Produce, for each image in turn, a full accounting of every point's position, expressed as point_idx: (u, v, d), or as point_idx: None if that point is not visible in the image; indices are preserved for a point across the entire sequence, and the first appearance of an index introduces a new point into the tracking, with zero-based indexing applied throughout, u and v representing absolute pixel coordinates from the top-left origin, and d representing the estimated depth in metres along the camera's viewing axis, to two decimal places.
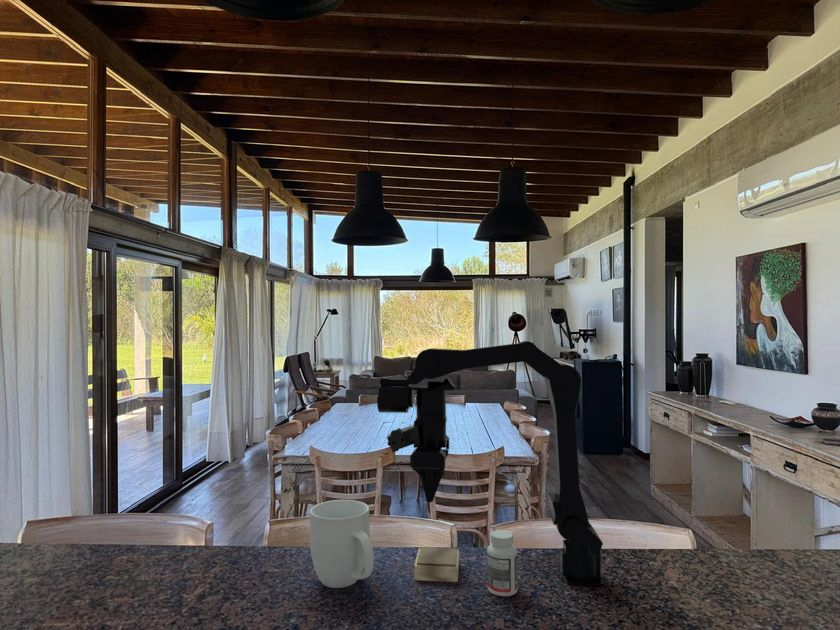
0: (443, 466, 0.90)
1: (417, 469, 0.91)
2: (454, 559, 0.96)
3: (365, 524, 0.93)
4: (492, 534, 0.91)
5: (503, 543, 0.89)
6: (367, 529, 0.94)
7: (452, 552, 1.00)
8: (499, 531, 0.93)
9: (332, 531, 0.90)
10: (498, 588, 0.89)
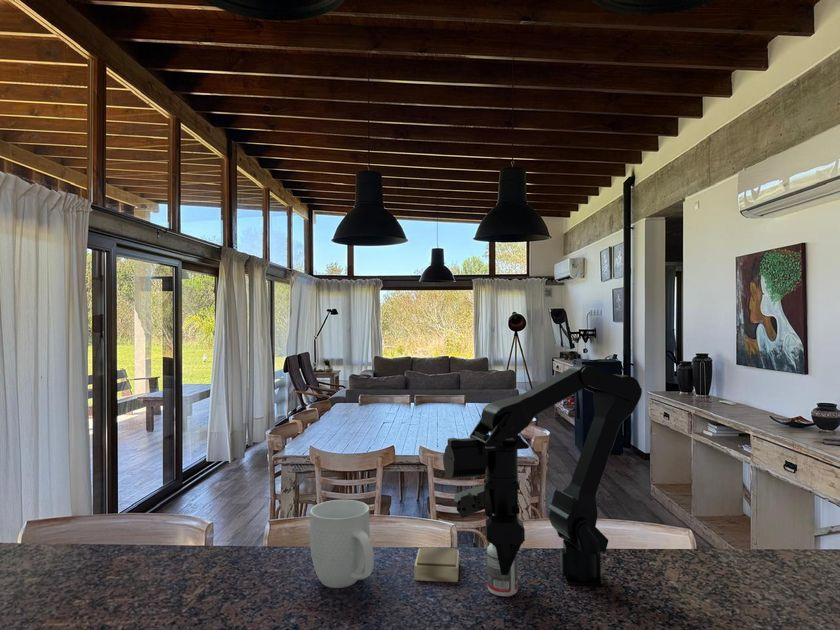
0: (523, 539, 0.82)
1: (493, 541, 0.84)
2: (454, 559, 0.96)
3: (366, 524, 0.93)
4: None
5: None
6: (367, 529, 0.94)
7: (452, 552, 1.00)
8: None
9: (332, 531, 0.90)
10: (498, 588, 0.89)
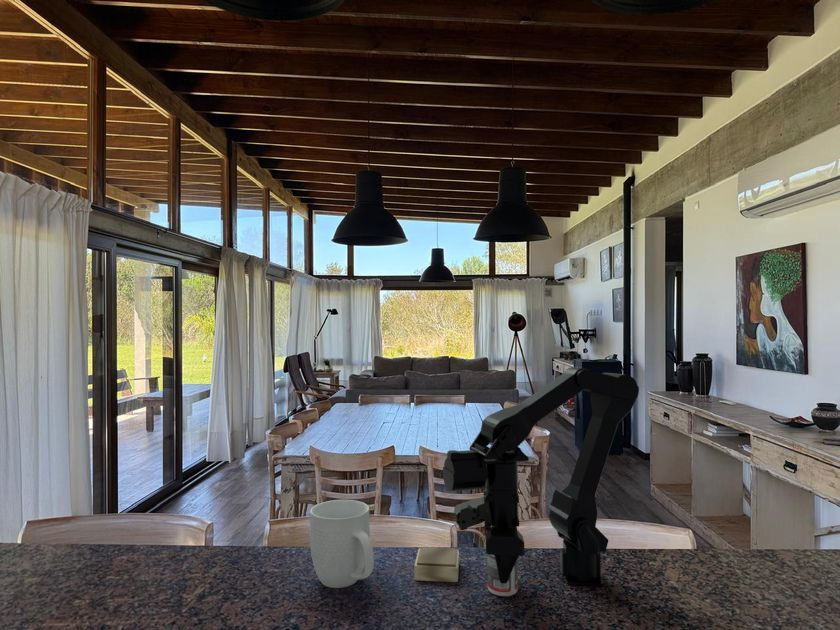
0: (523, 553, 0.82)
1: None
2: (454, 559, 0.96)
3: (365, 524, 0.93)
4: None
5: None
6: (367, 529, 0.94)
7: (452, 552, 1.00)
8: None
9: (332, 531, 0.90)
10: (498, 587, 0.89)
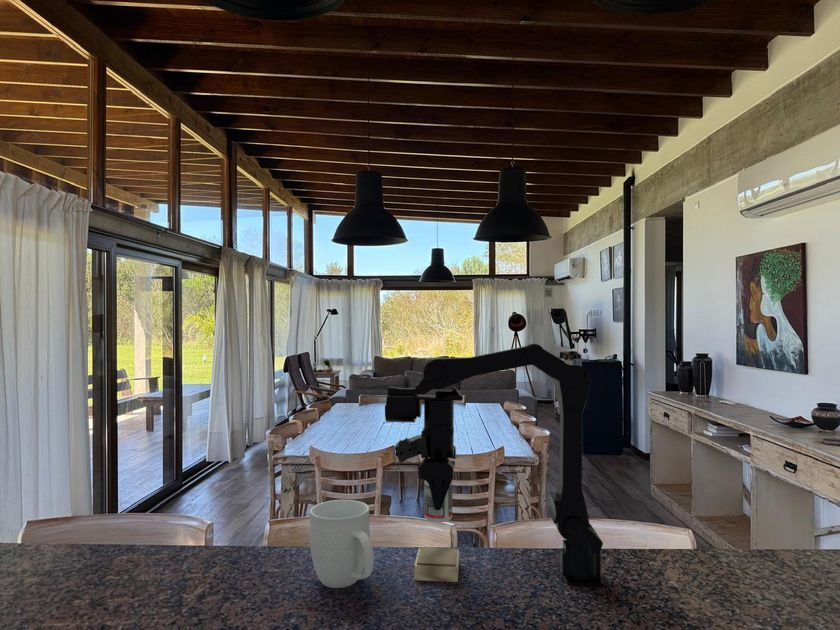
0: (451, 477, 0.89)
1: None
2: (454, 559, 0.96)
3: (366, 524, 0.93)
4: None
5: None
6: (367, 529, 0.94)
7: (452, 552, 1.00)
8: None
9: (332, 531, 0.90)
10: (433, 514, 0.96)
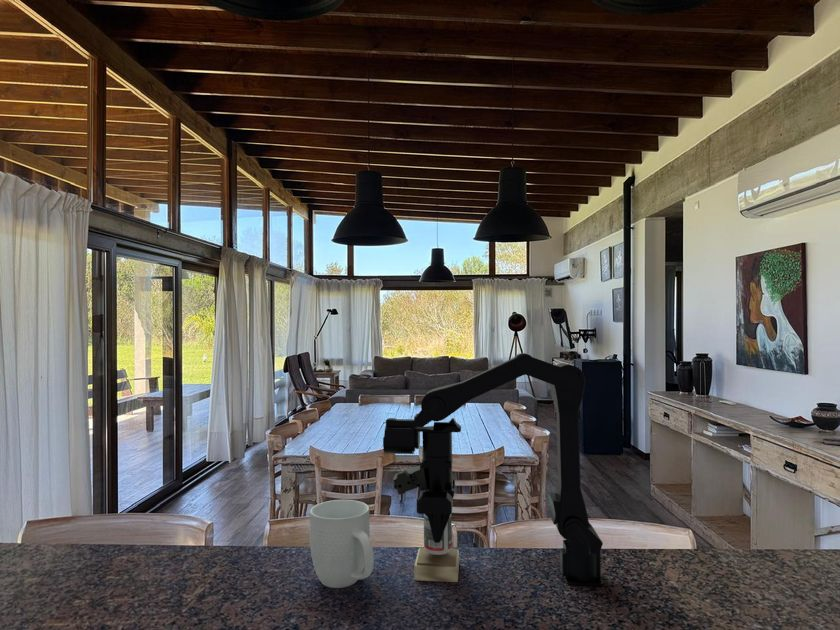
0: (450, 512, 0.89)
1: None
2: (454, 559, 0.96)
3: (365, 524, 0.93)
4: None
5: None
6: (367, 529, 0.94)
7: (452, 552, 1.00)
8: None
9: (332, 531, 0.90)
10: (432, 547, 0.96)
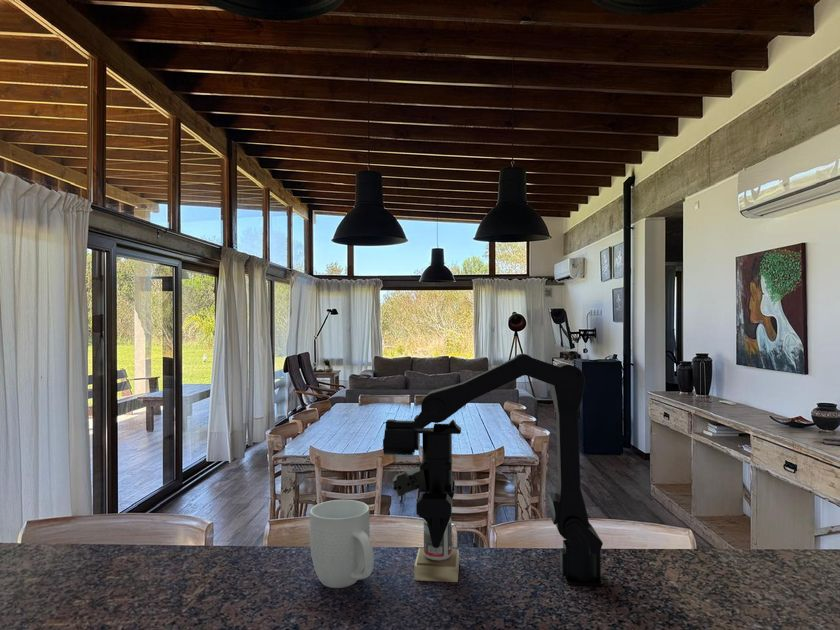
0: (450, 514, 0.89)
1: (423, 516, 0.91)
2: (454, 559, 0.96)
3: (365, 524, 0.93)
4: None
5: None
6: (367, 529, 0.94)
7: (452, 552, 1.00)
8: None
9: (332, 531, 0.90)
10: (432, 552, 0.96)
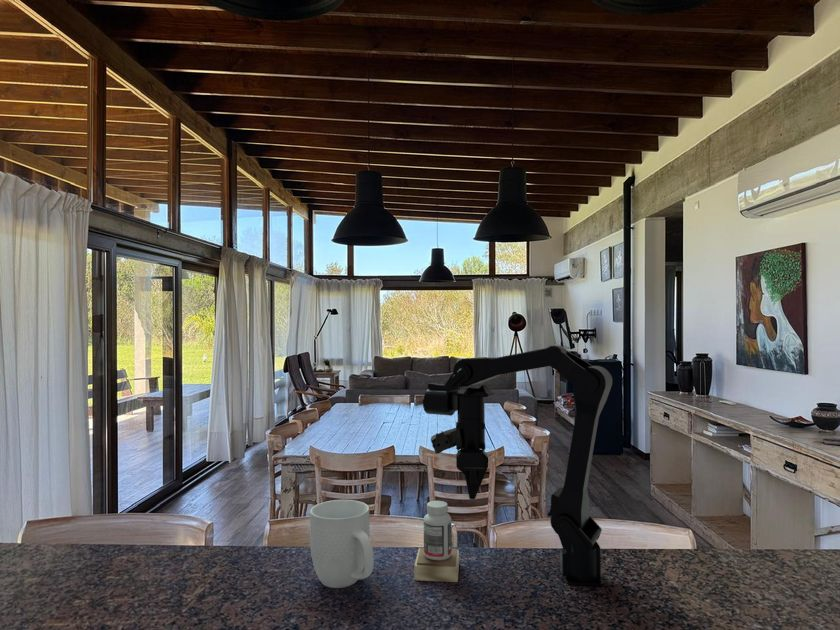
0: (487, 466, 0.98)
1: (462, 469, 1.00)
2: (454, 559, 0.96)
3: (365, 524, 0.93)
4: (428, 504, 0.98)
5: (438, 511, 0.97)
6: (367, 529, 0.94)
7: (452, 552, 1.00)
8: (435, 501, 1.00)
9: (332, 531, 0.90)
10: (432, 552, 0.96)
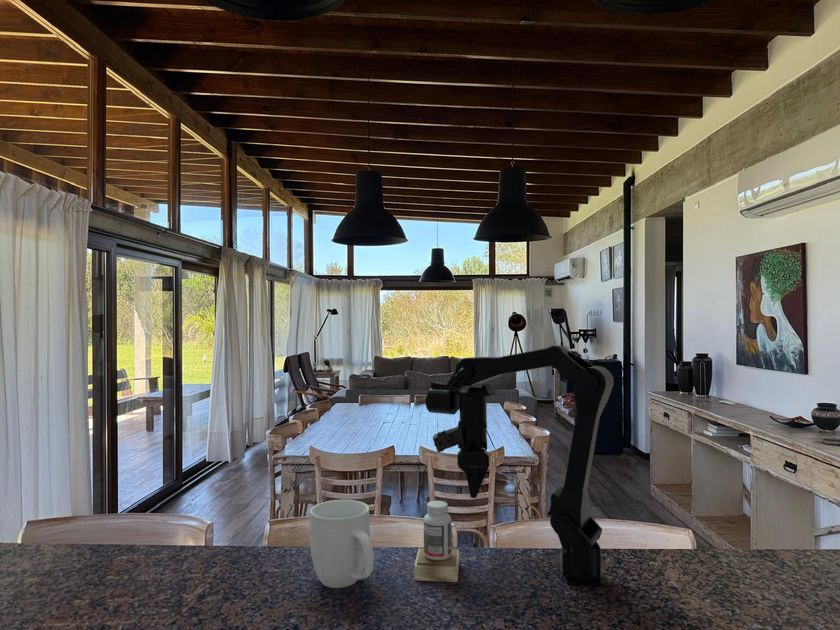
0: (488, 465, 0.99)
1: (463, 467, 1.00)
2: (454, 559, 0.96)
3: (365, 524, 0.93)
4: (428, 504, 0.98)
5: (438, 511, 0.97)
6: (367, 529, 0.94)
7: (452, 552, 1.00)
8: (435, 501, 1.00)
9: (332, 531, 0.90)
10: (432, 552, 0.96)
